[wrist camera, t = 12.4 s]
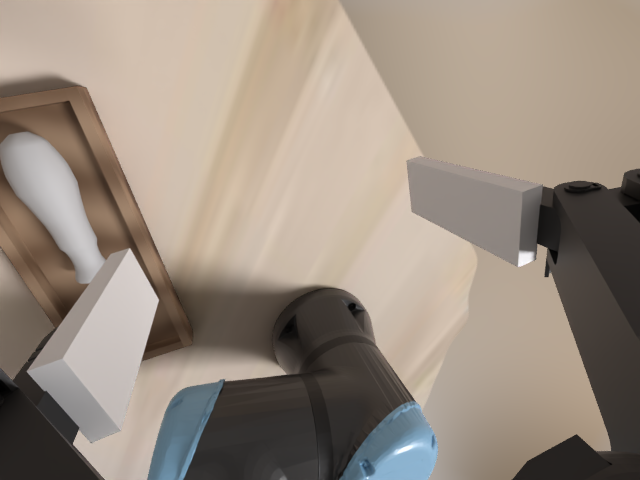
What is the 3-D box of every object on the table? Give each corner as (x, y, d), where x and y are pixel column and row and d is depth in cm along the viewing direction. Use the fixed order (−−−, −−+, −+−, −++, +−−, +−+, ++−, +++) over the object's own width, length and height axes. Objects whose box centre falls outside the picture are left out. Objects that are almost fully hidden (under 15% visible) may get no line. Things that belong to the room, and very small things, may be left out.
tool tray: (193, 332, 42) (191, 344, 40) (96, 363, 40) (89, 378, 38) (86, 87, 30) (76, 86, 28) (-66, 111, 27) (-90, 111, 25)
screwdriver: (124, 335, 40) (107, 361, 37) (9, 133, 29) (-34, 141, 25) (161, 329, 40) (148, 355, 37) (61, 125, 29) (27, 132, 25)
